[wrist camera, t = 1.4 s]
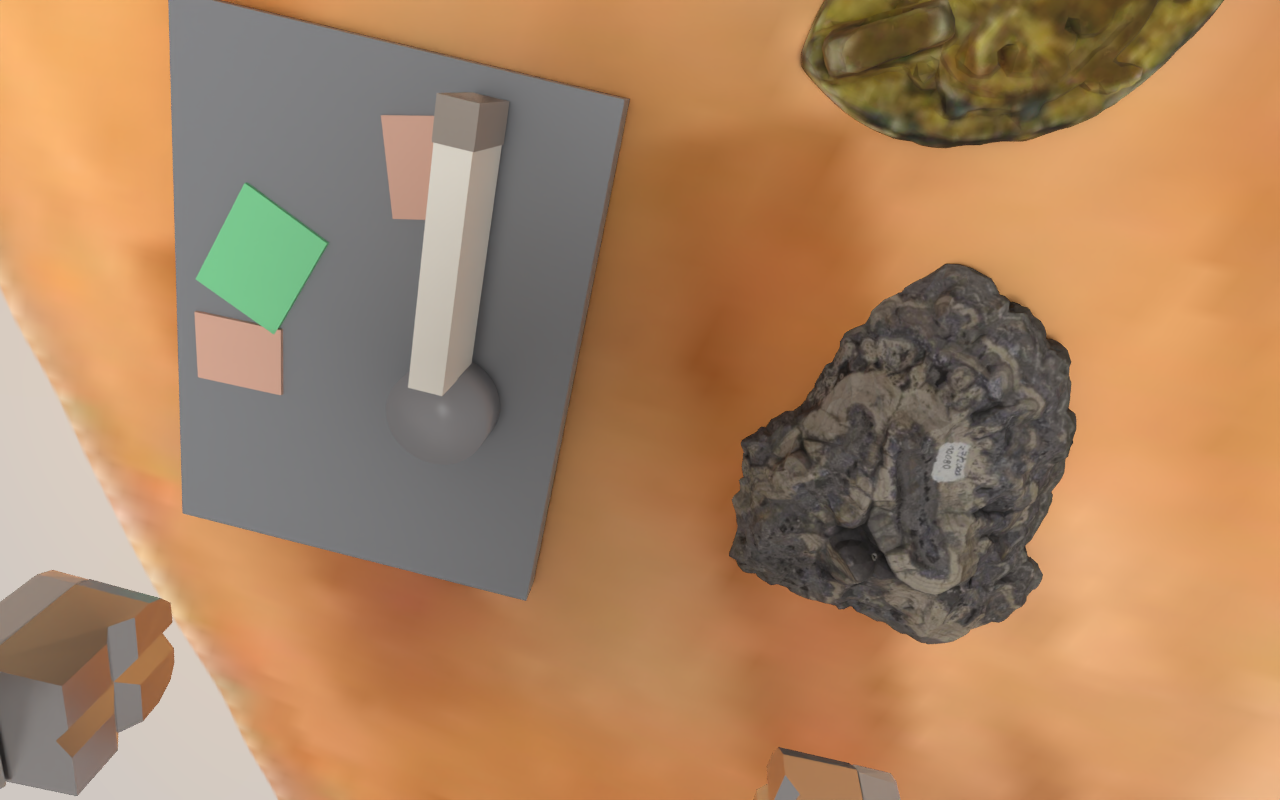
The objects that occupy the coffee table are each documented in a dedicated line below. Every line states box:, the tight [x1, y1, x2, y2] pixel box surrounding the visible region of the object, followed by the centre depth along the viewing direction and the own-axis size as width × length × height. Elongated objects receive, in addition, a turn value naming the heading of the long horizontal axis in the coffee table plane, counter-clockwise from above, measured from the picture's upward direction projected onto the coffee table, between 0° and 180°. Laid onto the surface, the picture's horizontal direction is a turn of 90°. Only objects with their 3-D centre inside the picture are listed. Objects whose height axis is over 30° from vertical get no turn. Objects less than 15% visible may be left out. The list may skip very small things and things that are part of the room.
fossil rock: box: [729, 264, 1076, 644], centre depth 34 cm, size 19×4×15 cm
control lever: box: [386, 92, 510, 465], centre depth 30 cm, size 15×4×4 cm, turn 168°
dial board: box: [168, 0, 630, 601], centre depth 34 cm, size 24×18×2 cm
